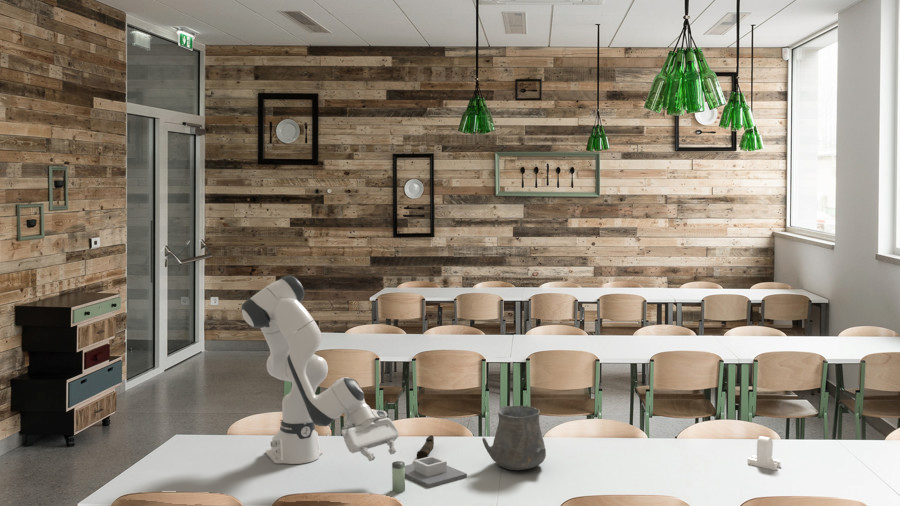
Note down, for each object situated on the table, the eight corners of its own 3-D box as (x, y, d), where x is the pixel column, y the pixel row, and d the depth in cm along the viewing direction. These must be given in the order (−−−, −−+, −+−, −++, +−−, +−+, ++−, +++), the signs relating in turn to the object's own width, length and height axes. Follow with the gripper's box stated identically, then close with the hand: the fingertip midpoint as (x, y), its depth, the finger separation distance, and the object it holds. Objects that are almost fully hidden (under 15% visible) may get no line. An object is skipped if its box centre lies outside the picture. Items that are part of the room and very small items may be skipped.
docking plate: (394, 471, 281) (394, 458, 280) (431, 462, 290) (431, 449, 290) (428, 487, 265) (428, 473, 264) (466, 477, 274) (466, 463, 274)
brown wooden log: (427, 462, 292) (427, 449, 291) (416, 461, 292) (416, 448, 292) (439, 446, 310) (439, 434, 310) (429, 445, 311) (429, 433, 311)
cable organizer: (775, 470, 280) (775, 441, 279) (746, 463, 286) (747, 435, 286) (780, 466, 284) (781, 438, 283) (752, 460, 290) (753, 432, 290)
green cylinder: (390, 490, 263) (389, 462, 262) (400, 487, 265) (400, 460, 265) (396, 493, 260) (396, 466, 259) (407, 490, 262) (407, 463, 261)
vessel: (558, 460, 292) (558, 405, 290) (538, 479, 272) (538, 420, 270) (501, 452, 301) (501, 399, 300) (478, 471, 281) (478, 413, 279)
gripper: (343, 422, 262) (363, 458, 256) (389, 410, 277) (409, 444, 271) (334, 433, 265) (354, 469, 259) (380, 421, 280) (400, 454, 274)
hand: (383, 456), depth 265 cm, fingers open, 8 cm apart
